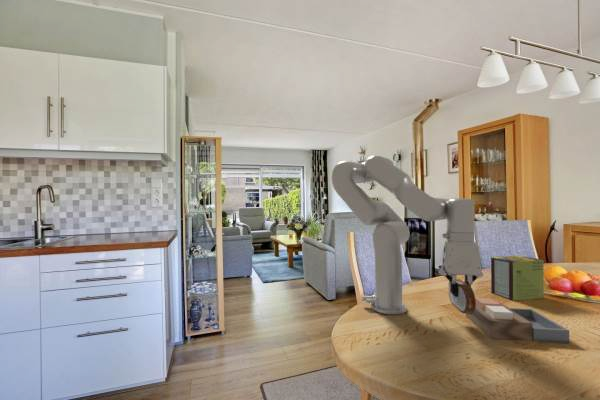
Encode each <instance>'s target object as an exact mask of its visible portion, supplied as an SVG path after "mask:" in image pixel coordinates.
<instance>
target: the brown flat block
mask: <svg viewBox="0 0 600 400" xmlns="http://www.w3.org/2000/svg"><path fill="white" fill-rule="evenodd" d="M498 303H499V304H500V306H503V307H505V308H506V309H508V310H509V311H511V312H512V313H513V320H512V319H494V318H493V317H491V316H490V315H489V314H487V313H486V310H482V309H481V308H480V307H478V306H477V305H476V308H475V312H474V313H473V314H465V316H466V318H468V320H469V321H470V322H472V323H473V324H474V325H475V326H476V327H477V328H478V329H479V330H480V331H481V332H483V334H484V335H485V336H487V338H489V339H490V340H491V339H494V340H506V341H507V340H510V341H526V342H527V341H528V342H533V340H532V323H531V322H530V321H528V320H527V319H525V318H523V317H522V316H520V315H519V314H517V313H516V312H514V311H513V310H511V309H509V308H510V307H508V306H506V304H503V303H501V302H498Z"/></svg>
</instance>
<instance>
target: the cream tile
mask: <svg viewBox="0 0 600 400" xmlns="http://www.w3.org/2000/svg"><path fill="white" fill-rule="evenodd" d="M486 313H487V314H489V315H490V316H491V317H493V318H494V319H512V320H513V313H512V312H511V311H509V310H508V309H506V308H505V307H503V306H486Z"/></svg>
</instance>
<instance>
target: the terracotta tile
mask: <svg viewBox="0 0 600 400" xmlns="http://www.w3.org/2000/svg"><path fill="white" fill-rule="evenodd" d="M475 300H476V305H477V306H478V307H480V308H481V309H482V310H486V306H500V304H499V303H500V302H497V301H496V300H494V299H493V298H488V297H487V298H483V297H482V298H481V297H475Z"/></svg>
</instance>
